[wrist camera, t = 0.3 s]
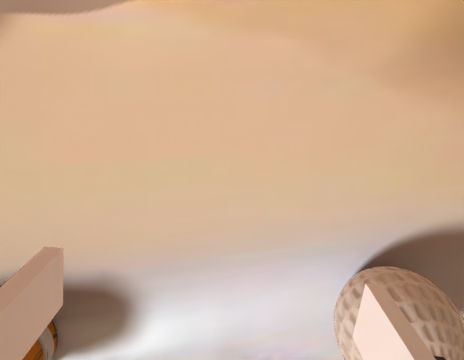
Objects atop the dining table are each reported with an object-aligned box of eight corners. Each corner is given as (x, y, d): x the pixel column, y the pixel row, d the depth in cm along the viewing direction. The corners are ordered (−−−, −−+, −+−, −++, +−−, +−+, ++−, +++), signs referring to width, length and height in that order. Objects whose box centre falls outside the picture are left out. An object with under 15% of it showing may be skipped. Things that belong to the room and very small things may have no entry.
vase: (433, 316, 48) (533, 435, 32) (339, 347, 50) (390, 477, 34) (407, 231, 45) (504, 316, 29) (307, 267, 47) (346, 368, 30)
